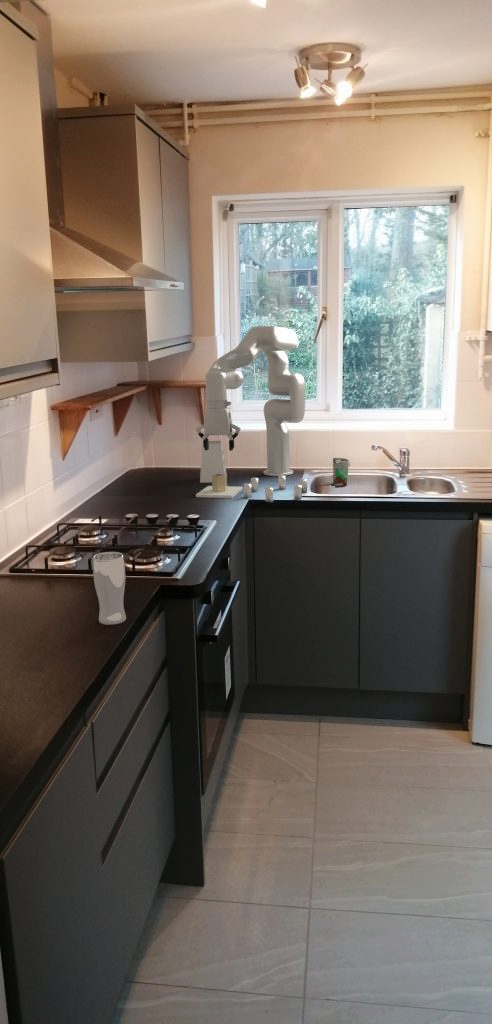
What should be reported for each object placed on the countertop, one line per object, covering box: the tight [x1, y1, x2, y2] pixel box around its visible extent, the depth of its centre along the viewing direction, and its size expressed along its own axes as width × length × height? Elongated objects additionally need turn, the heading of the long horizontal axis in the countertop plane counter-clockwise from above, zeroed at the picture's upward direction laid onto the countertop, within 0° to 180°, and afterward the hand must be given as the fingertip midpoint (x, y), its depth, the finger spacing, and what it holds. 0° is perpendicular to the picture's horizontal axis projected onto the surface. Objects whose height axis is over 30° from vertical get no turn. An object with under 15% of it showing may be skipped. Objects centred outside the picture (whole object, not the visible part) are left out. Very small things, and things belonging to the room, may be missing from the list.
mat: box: [195, 485, 244, 499], centre depth 312 cm, size 16×14×1 cm
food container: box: [332, 457, 351, 489], centre depth 319 cm, size 12×6×10 cm, turn 179°
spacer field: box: [243, 476, 308, 503], centre depth 306 cm, size 25×22×5 cm
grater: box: [199, 437, 228, 483], centre depth 335 cm, size 10×10×20 cm
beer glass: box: [92, 551, 127, 626], centre depth 181 cm, size 7×7×15 cm
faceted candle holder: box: [211, 474, 228, 492], centre depth 311 cm, size 6×5×6 cm
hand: (219, 450), depth 308 cm, fingers open, 9 cm apart
